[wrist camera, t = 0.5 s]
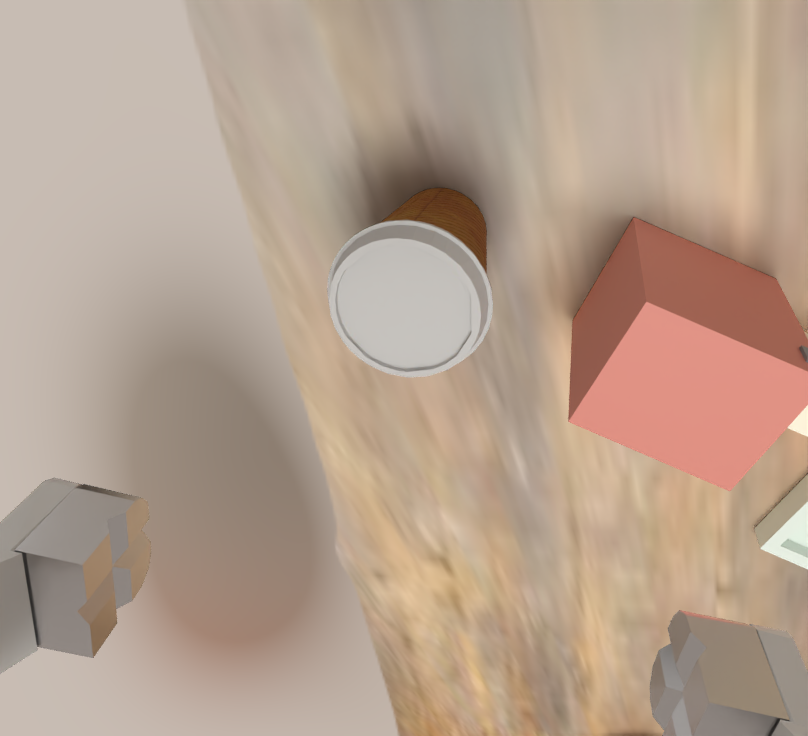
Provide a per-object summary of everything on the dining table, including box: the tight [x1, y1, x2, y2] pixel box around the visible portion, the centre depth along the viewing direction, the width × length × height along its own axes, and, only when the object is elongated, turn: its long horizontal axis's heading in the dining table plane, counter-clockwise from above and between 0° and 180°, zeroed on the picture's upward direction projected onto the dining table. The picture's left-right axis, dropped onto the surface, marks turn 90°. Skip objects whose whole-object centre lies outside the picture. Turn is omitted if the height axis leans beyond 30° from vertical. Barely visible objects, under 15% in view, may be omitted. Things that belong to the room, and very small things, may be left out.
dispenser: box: [568, 217, 808, 491], centre depth 43 cm, size 9×10×12 cm
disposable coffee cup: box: [327, 188, 493, 377], centre depth 44 cm, size 10×10×12 cm
